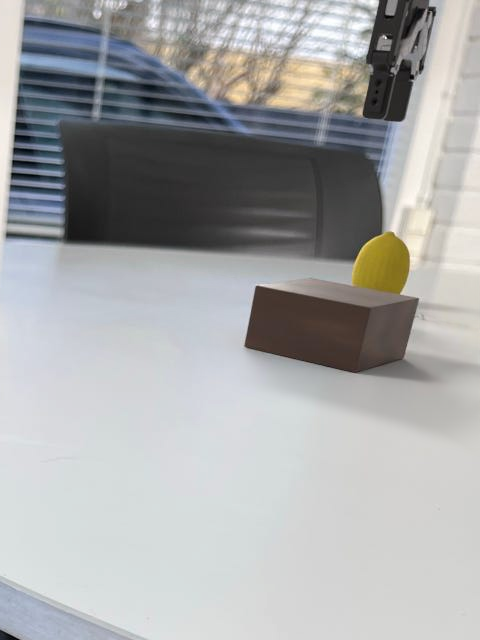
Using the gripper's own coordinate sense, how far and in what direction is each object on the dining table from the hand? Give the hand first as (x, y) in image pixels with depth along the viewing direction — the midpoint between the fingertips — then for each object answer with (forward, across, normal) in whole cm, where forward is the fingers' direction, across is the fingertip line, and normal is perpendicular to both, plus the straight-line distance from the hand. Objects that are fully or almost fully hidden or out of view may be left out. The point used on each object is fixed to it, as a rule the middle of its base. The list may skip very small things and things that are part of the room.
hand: (383, 120), depth 105 cm
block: (+18, -28, -6) cm, 33 cm away
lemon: (+18, -1, -3) cm, 18 cm away
